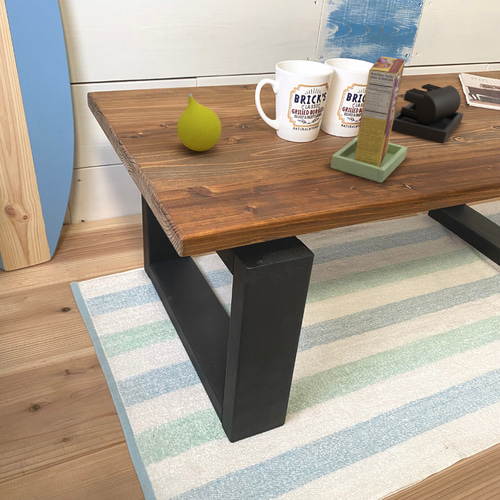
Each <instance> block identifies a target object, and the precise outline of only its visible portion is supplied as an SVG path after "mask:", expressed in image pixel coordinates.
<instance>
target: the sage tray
mask: <svg viewBox="0 0 500 500" xmlns="http://www.w3.org/2000/svg"><path fill="white" fill-rule="evenodd" d="M357 139H358V135H357V136H356V137H355V138H353V139H352V140H351V141H349V142H348V143H346V145H343V147H342V148H340V149H339V150H338V151H336V152H335V153H333V154H332V156H331V161H330V166H329V168H330V169H334V170H338V171H340V172H344V173H347V174H350V175H353V176H357V177H360V178H364V179H367V180H370V181H374V182H376V183H380V184H382V183H383V182H384V181H385V180H386V179H387V178H388V177H389V176H390V175H391V174H392V173H393V172H394V171H395V170H396V169H397V168H398V166H399V165H401V163H402V162H403V161H404V160H405V159H406V155H407V152H408V147H407V146H403V145H400V144H398V143H393V142H389V144H388V149H387V153H386V155H385V157H384V159H383V161H382V163H381V165H380V167H378V166H374V165H371V164H367V163H364V162H360V161H357V160H354V157H355V151H356V145H357Z"/></svg>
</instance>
